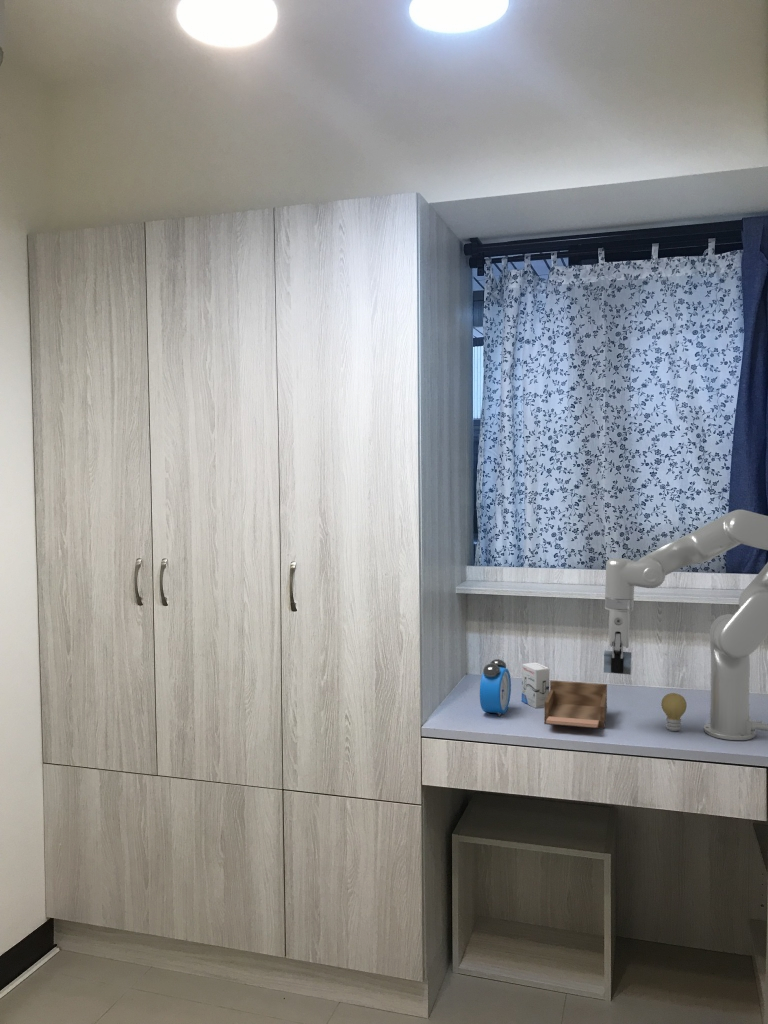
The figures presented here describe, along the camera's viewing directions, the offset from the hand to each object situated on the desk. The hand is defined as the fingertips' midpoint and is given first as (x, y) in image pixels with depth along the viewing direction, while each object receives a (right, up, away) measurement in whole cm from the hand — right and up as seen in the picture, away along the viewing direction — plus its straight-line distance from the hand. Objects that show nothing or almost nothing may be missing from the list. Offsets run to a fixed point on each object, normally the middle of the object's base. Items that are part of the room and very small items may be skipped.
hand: (617, 669), depth 227 cm
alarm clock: (-31, -16, +15) cm, 38 cm away
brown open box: (-9, -15, +9) cm, 20 cm away
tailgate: (-12, -14, +1) cm, 18 cm away
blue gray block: (0, 0, 0) cm, 0 cm away
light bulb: (+15, -16, -2) cm, 22 cm away
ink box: (-18, -15, +24) cm, 33 cm away
